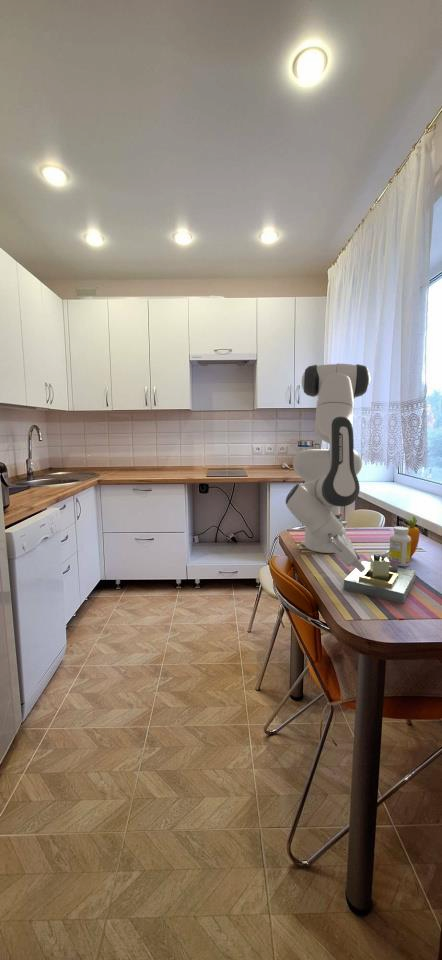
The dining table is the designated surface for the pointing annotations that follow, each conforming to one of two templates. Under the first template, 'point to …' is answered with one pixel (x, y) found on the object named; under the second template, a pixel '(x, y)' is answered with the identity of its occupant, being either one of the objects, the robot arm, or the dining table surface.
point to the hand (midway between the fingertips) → (360, 564)
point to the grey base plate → (381, 583)
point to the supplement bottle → (400, 546)
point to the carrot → (413, 535)
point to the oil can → (380, 567)
